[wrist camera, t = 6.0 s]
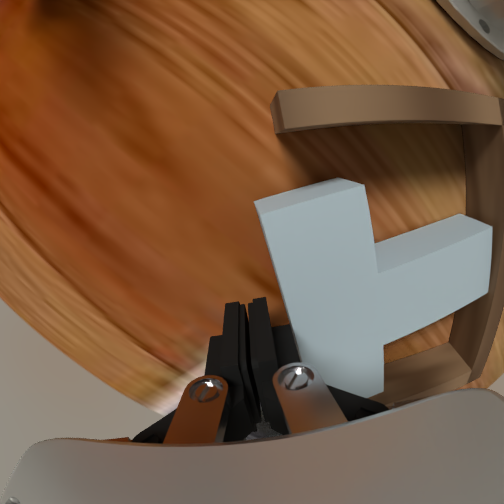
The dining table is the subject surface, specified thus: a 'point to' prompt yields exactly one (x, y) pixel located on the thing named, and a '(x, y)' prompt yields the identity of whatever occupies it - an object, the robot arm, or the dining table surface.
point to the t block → (365, 277)
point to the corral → (477, 207)
